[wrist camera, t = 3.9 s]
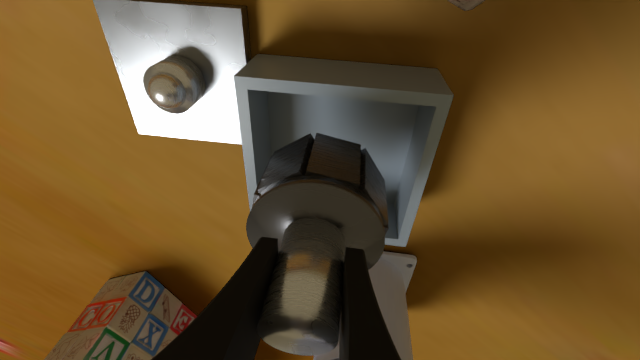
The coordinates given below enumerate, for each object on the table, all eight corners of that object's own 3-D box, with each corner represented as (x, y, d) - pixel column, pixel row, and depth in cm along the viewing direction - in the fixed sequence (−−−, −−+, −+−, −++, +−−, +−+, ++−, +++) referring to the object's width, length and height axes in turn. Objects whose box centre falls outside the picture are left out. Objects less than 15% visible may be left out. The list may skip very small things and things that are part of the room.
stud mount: (258, 138, 21) (240, 167, 18) (147, 127, 22) (113, 153, 19) (246, 6, 16) (221, 17, 14) (105, -5, 17) (51, 4, 14)
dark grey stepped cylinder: (399, 154, 14) (424, 311, 8) (360, 236, 18) (358, 388, 12) (276, 121, 14) (207, 259, 8) (262, 211, 17) (206, 353, 11)
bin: (400, 206, 23) (405, 247, 20) (267, 191, 24) (252, 228, 21) (437, 68, 17) (453, 95, 14) (257, 53, 18) (233, 75, 15)
